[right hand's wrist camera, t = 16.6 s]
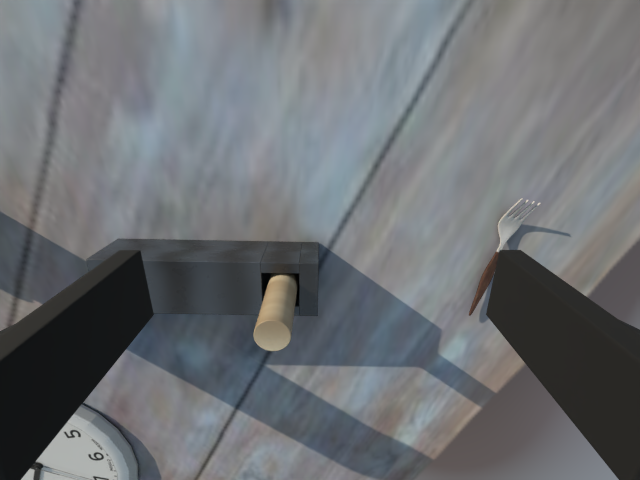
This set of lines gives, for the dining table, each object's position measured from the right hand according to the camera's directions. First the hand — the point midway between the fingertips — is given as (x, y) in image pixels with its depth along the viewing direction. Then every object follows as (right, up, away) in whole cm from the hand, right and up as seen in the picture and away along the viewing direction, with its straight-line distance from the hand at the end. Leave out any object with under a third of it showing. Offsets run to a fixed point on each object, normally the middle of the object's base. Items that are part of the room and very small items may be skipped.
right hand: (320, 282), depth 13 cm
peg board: (-12, -1, +29) cm, 32 cm away
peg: (-4, -1, +29) cm, 30 cm away
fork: (+21, -1, +29) cm, 36 cm away
